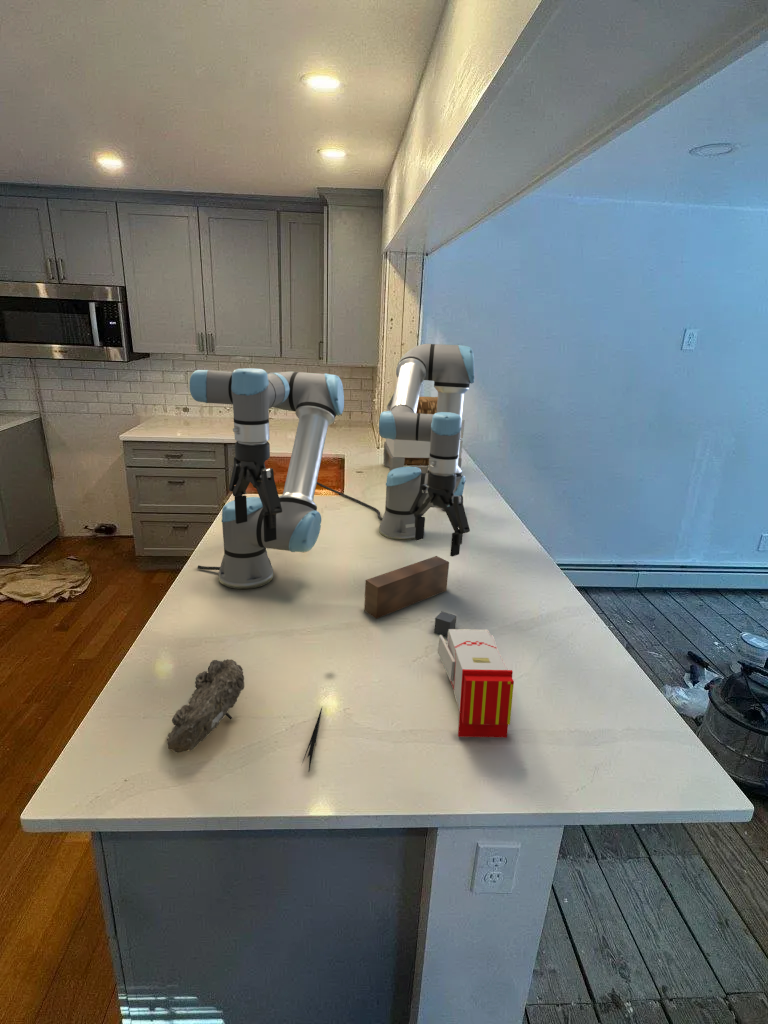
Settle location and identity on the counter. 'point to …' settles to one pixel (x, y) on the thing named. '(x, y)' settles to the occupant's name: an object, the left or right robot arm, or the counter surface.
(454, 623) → the slate block
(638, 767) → the counter surface
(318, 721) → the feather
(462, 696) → the toy
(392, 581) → the bar
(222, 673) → the fossil
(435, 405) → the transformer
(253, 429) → the left robot arm
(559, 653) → the counter surface
